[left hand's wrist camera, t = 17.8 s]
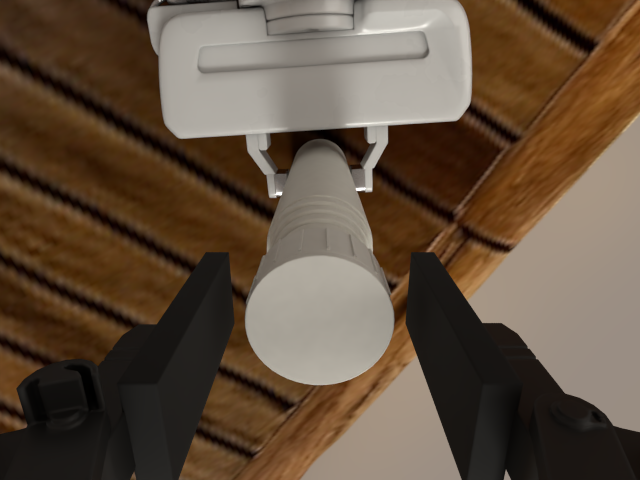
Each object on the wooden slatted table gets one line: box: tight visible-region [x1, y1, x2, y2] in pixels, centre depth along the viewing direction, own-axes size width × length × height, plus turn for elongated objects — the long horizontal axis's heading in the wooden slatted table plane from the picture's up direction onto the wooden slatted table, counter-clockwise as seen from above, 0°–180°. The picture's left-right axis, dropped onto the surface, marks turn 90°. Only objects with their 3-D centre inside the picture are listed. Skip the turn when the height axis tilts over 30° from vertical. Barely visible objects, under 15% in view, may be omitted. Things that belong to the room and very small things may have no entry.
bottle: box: [267, 139, 373, 253], centre depth 24 cm, size 5×5×25 cm
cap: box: [245, 227, 394, 385], centre depth 13 cm, size 4×4×2 cm
